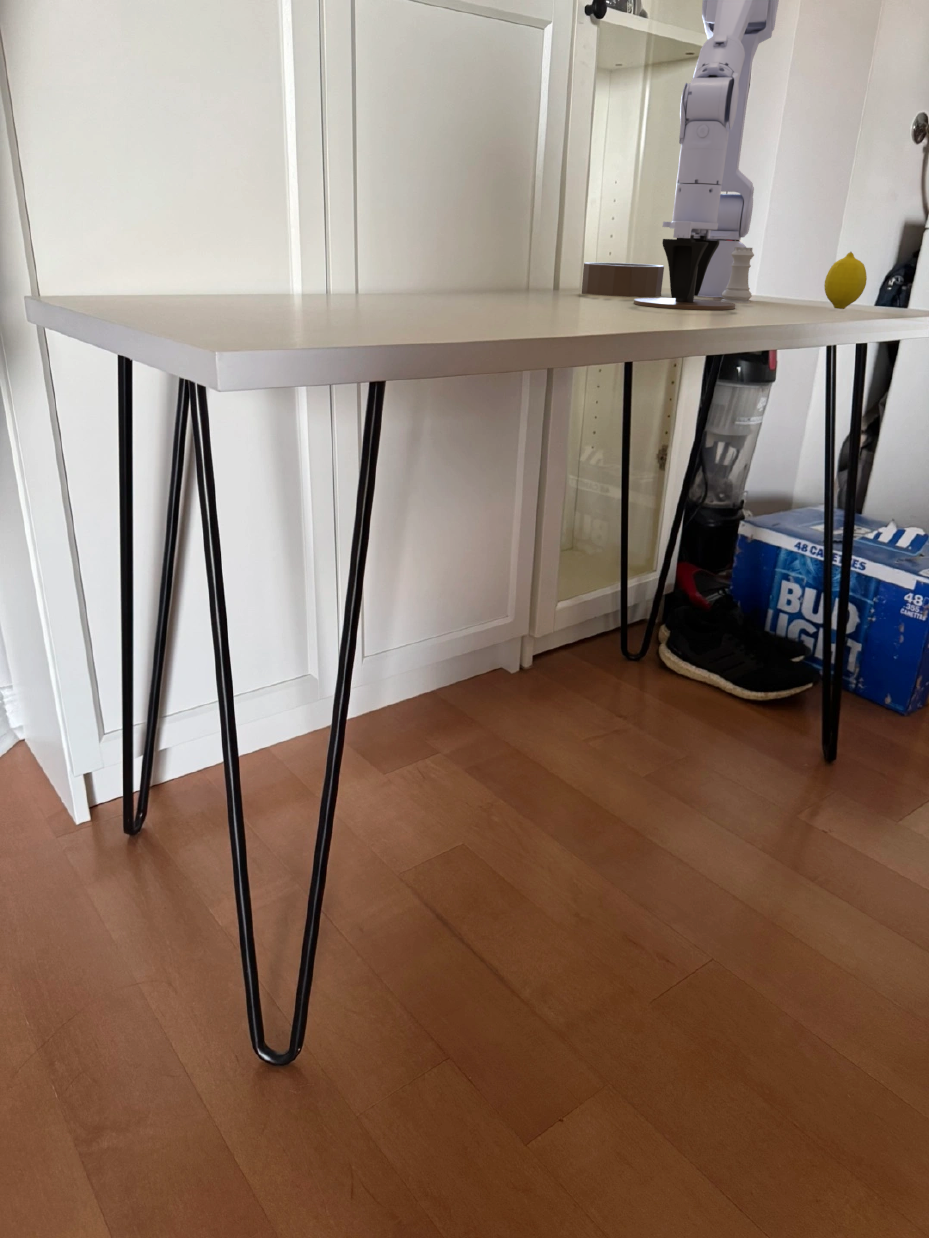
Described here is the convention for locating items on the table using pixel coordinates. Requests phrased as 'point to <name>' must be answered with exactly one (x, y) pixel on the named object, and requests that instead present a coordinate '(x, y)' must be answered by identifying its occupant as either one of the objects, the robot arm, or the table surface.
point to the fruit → (845, 281)
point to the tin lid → (685, 302)
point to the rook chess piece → (739, 277)
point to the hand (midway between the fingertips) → (684, 297)
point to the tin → (622, 279)
